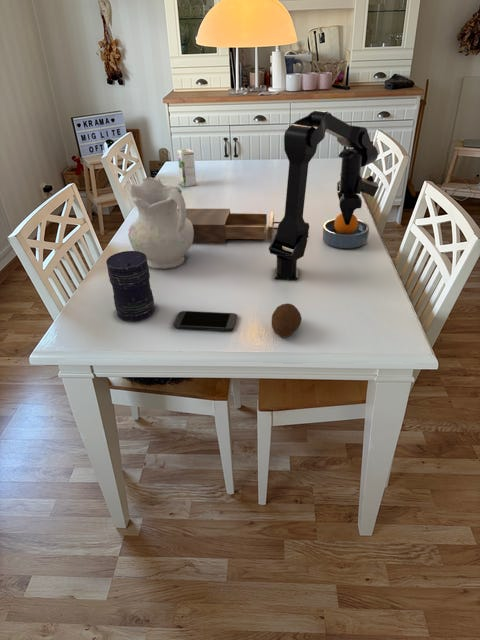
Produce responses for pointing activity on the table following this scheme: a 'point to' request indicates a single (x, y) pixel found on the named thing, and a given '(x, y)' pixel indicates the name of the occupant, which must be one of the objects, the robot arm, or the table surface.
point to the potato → (286, 320)
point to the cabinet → (208, 225)
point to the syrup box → (186, 167)
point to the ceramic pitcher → (160, 224)
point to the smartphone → (205, 320)
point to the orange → (344, 228)
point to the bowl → (345, 240)
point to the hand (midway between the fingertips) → (346, 220)
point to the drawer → (249, 226)
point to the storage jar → (131, 285)
